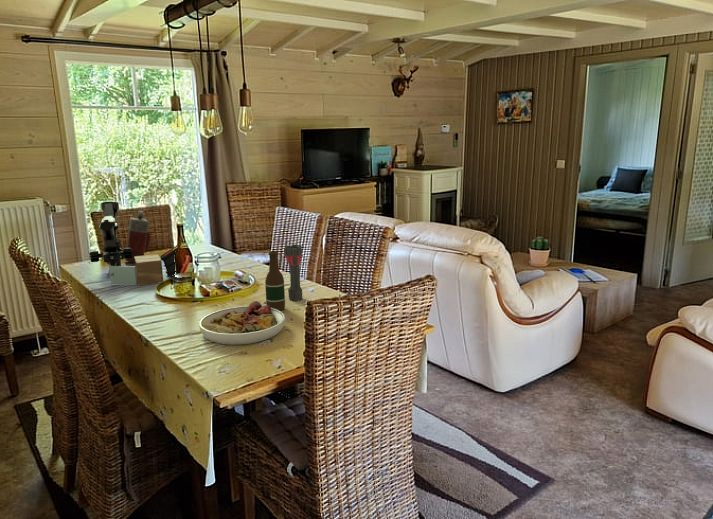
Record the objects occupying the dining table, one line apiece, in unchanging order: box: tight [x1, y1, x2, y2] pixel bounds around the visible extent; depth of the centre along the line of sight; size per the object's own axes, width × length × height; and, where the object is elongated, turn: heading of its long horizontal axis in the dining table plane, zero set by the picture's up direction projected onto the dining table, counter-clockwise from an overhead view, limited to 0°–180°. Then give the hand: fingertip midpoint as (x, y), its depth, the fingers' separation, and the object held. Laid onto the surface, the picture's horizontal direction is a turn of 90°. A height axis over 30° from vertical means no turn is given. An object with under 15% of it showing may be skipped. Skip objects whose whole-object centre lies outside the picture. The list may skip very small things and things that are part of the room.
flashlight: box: [283, 244, 303, 302], centre depth 230 cm, size 8×8×23 cm
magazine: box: [159, 245, 177, 278], centre depth 272 cm, size 4×13×15 cm, turn 131°
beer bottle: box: [264, 250, 286, 312], centre depth 215 cm, size 8×8×24 cm
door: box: [108, 265, 139, 286], centre depth 253 cm, size 13×2×9 cm, turn 84°
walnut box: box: [134, 254, 164, 286], centre depth 262 cm, size 15×11×11 cm
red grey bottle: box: [124, 210, 151, 263], centre depth 300 cm, size 9×11×28 cm
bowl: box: [198, 300, 286, 346], centre depth 193 cm, size 30×30×8 cm
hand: (113, 269), depth 255 cm, fingers closed
